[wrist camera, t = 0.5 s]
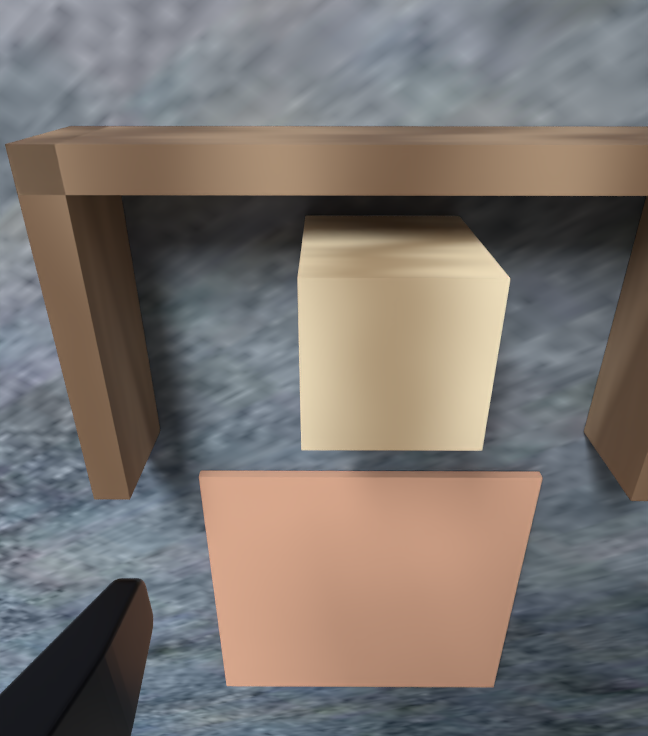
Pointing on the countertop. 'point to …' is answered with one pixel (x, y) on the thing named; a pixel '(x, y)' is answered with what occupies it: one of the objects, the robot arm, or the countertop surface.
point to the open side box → (294, 177)
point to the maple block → (397, 333)
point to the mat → (365, 574)
